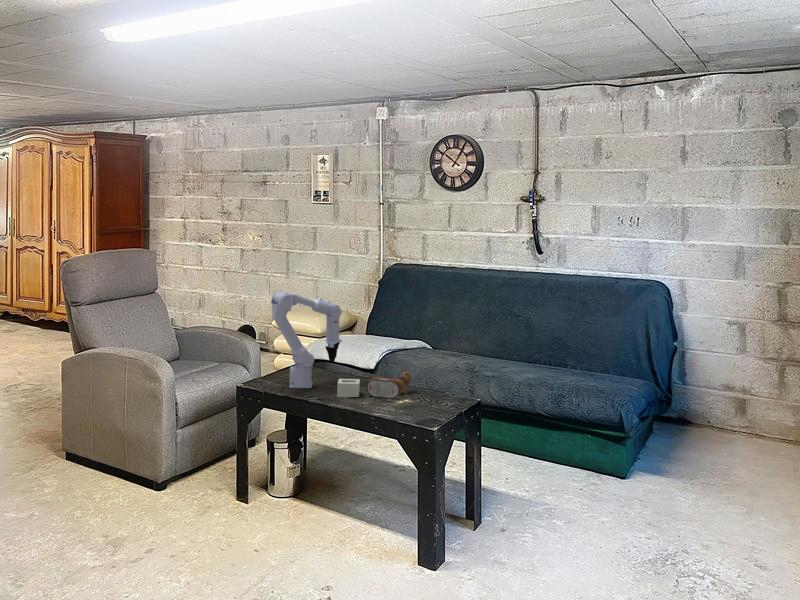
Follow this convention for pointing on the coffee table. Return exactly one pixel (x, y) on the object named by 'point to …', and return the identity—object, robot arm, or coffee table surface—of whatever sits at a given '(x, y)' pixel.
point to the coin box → (348, 388)
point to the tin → (384, 388)
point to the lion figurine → (404, 380)
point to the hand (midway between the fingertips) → (332, 359)
